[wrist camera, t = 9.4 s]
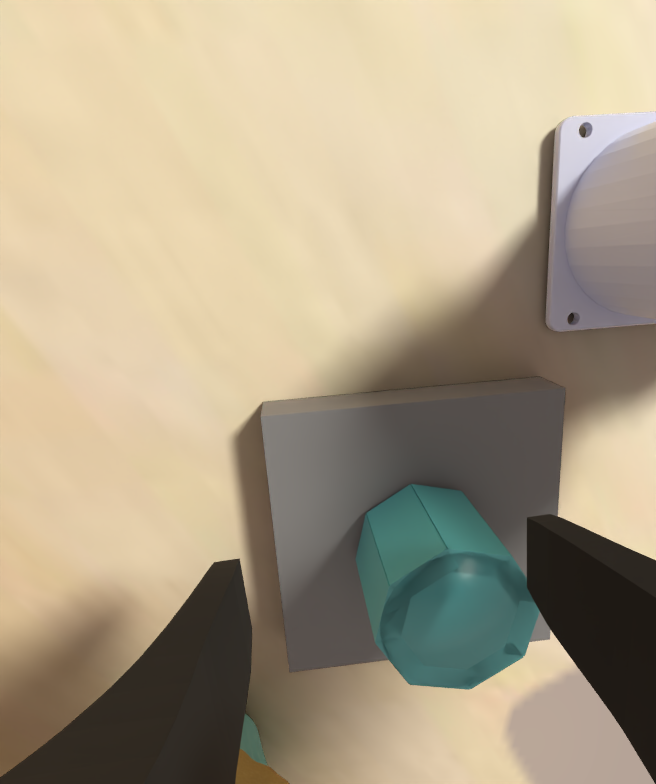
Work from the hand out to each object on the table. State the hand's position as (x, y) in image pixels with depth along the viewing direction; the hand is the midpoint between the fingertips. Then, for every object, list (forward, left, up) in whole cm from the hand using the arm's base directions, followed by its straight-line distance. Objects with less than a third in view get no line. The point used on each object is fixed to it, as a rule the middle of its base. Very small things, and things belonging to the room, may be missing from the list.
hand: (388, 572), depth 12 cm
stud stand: (-3, +4, -9) cm, 11 cm away
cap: (-3, +4, -7) cm, 9 cm away
